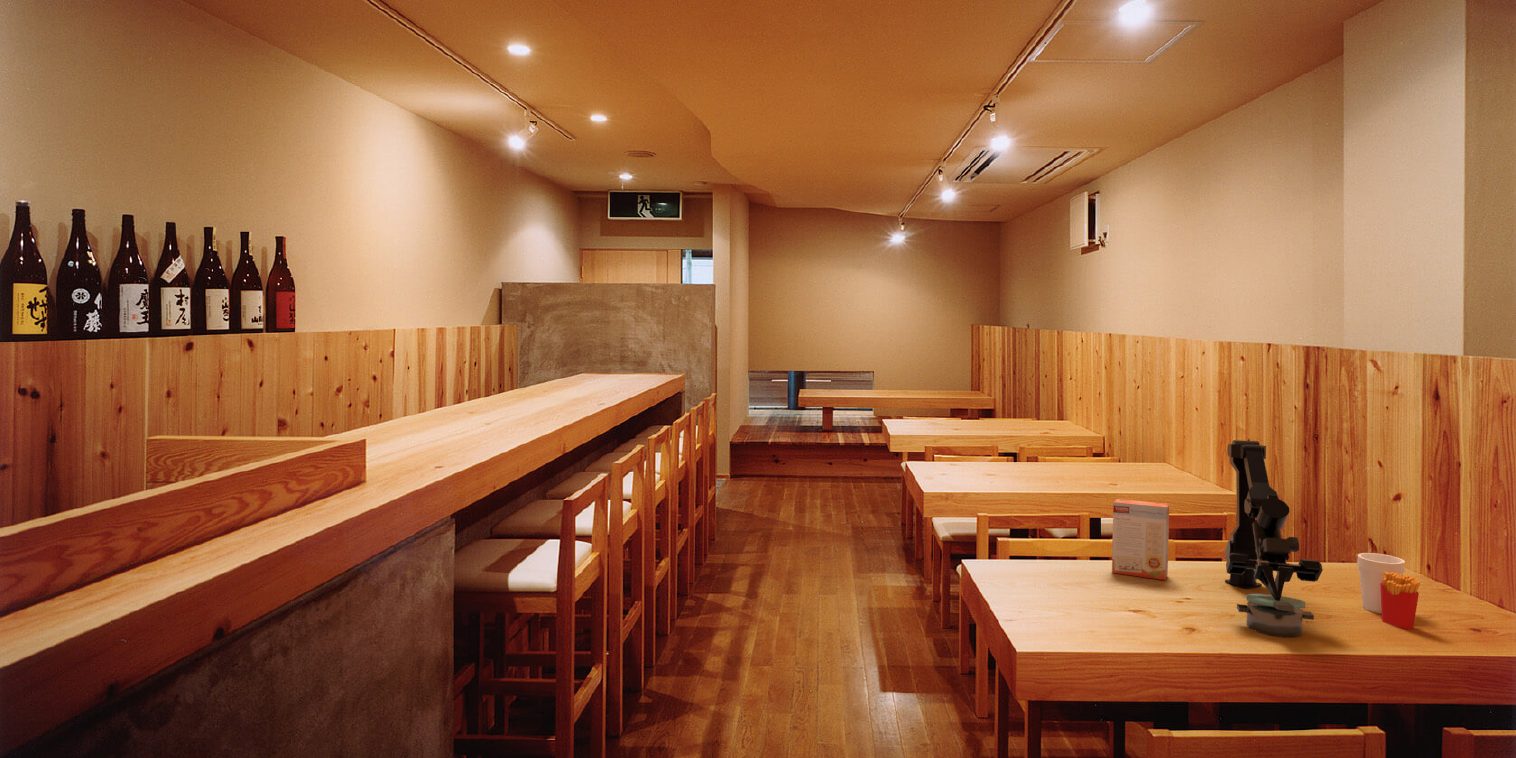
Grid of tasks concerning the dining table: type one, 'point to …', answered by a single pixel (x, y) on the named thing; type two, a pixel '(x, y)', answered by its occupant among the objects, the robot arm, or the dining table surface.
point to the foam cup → (1376, 576)
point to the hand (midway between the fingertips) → (1278, 599)
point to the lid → (1276, 602)
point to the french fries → (1399, 599)
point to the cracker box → (1140, 538)
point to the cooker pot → (1274, 619)
